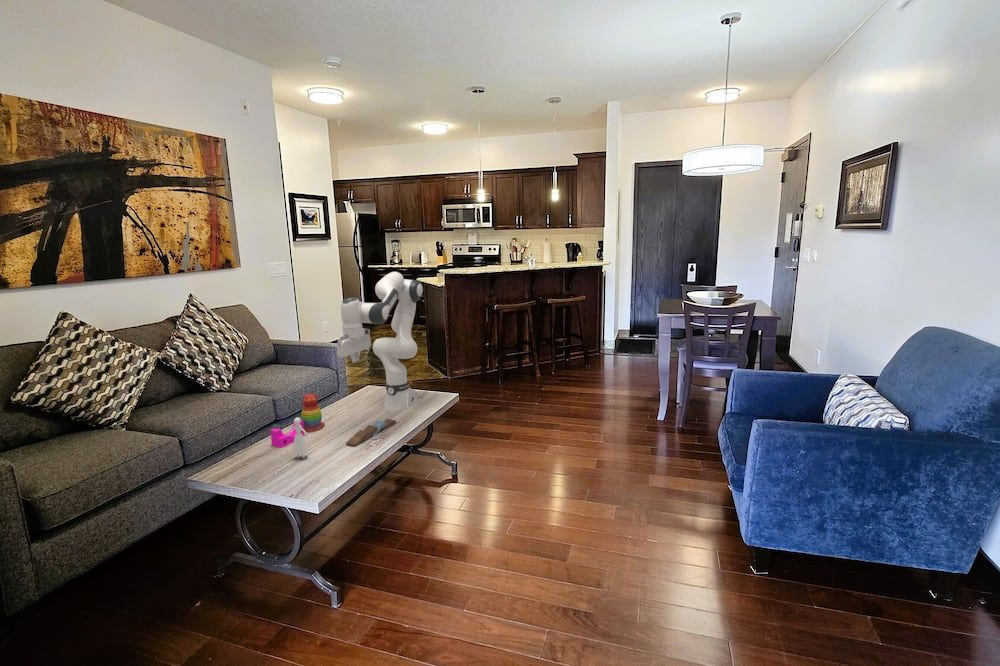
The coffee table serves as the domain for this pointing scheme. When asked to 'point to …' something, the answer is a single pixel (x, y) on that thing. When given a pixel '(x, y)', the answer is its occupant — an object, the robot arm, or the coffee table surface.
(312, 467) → the coffee table surface
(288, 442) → the toy block
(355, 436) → the domino
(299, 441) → the woman figurine
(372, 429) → the domino
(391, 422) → the domino
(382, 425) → the domino
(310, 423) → the stacking bear
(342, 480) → the coffee table surface
